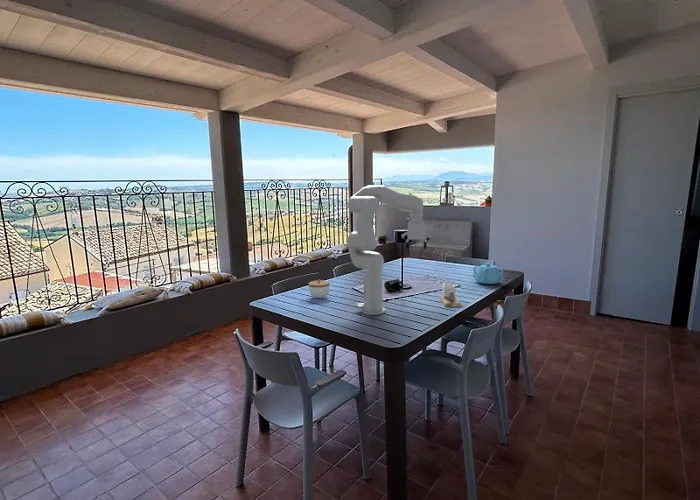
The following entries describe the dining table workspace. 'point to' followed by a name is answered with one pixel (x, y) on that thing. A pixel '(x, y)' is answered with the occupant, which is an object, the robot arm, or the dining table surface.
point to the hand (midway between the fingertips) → (416, 248)
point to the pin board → (450, 301)
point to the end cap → (393, 285)
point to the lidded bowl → (319, 288)
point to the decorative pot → (487, 274)
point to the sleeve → (447, 290)
